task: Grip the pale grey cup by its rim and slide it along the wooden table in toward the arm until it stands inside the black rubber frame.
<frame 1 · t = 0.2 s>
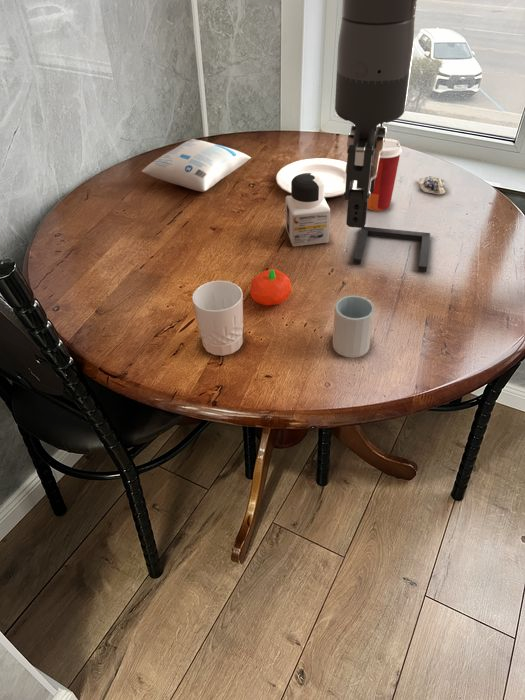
hand: (360, 208, 67), 28 cm above the table, tool pointing down, fingers open, 8 cm apart
container: (306, 236, 115), on the table
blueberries: (433, 188, 128), on the table
pale grey cup: (351, 345, 89), on the table
frame: (391, 252, 109), on the table
white cup: (223, 343, 91), on the table
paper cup: (376, 205, 123), on the table
pouch: (199, 180, 136), on the table
pumpkin: (270, 300, 99), on the table
plate: (318, 184, 132), on the table
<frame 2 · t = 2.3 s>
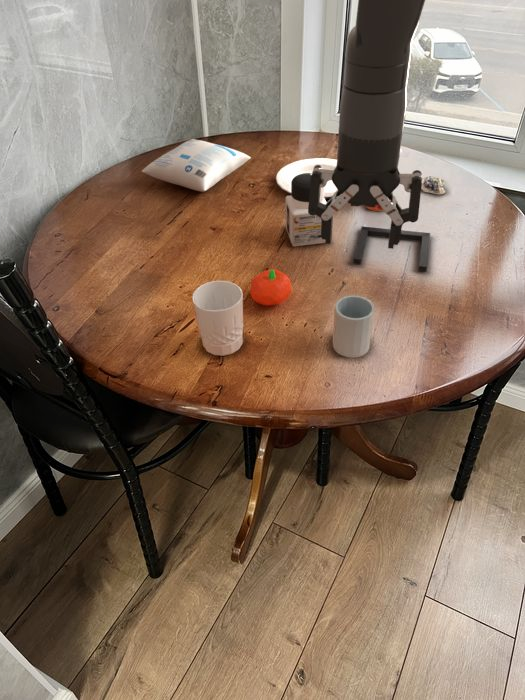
hand: (359, 243, 75), 20 cm above the table, tool pointing down, fingers open, 8 cm apart
nothing on the table moved.
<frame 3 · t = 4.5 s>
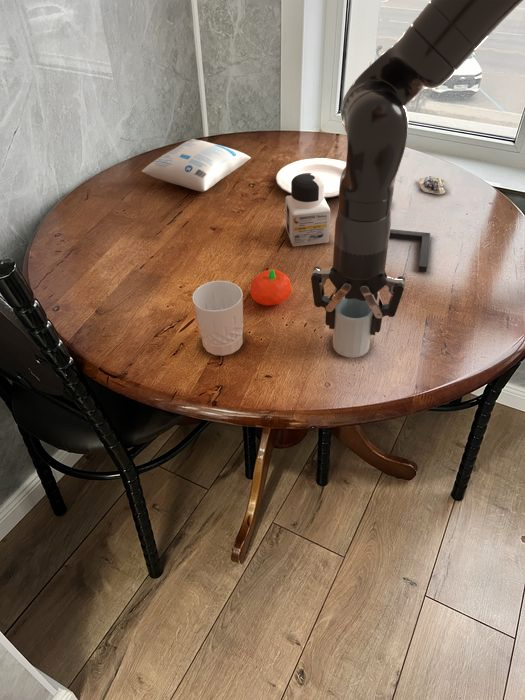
hand: (352, 328, 87), 4 cm above the table, tool pointing down, fingers closed on pale grey cup, 6 cm apart
pale grey cup: (351, 345, 89), on the table, touching gripper
everything else where it was.
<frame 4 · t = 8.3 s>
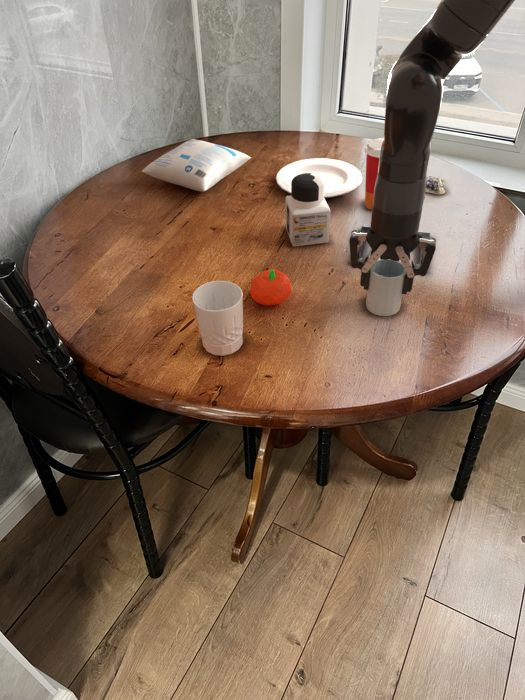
hand: (385, 289, 94), 4 cm above the table, tool pointing down, fingers closed on pale grey cup, 6 cm apart
pale grey cup: (382, 305, 96), on the table, touching gripper
everything else where it was.
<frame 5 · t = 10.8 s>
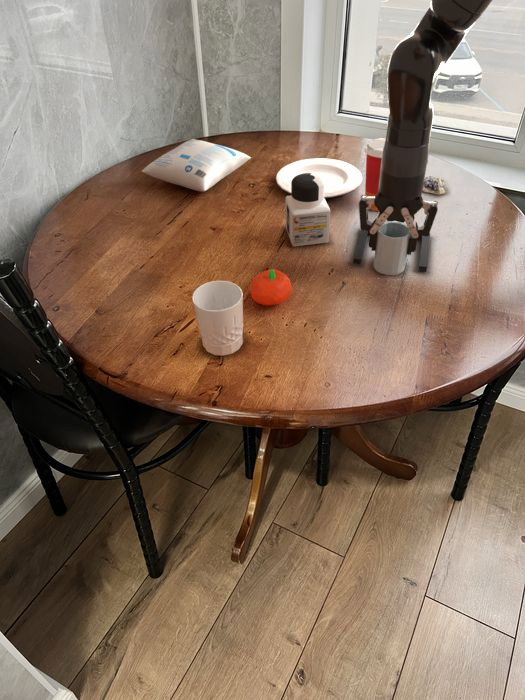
hand: (391, 250, 103), 4 cm above the table, tool pointing down, fingers closed on pale grey cup, 6 cm apart
pale grey cup: (389, 266, 105), on the table, touching gripper
everything else where it was.
when the fingers open (4 cm above the table, at t = 12.4 s): pale grey cup stays where it is, on the table.
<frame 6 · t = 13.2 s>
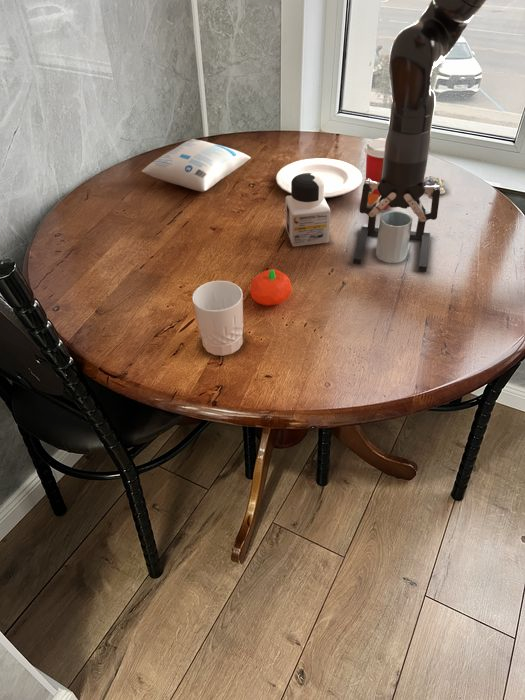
hand: (394, 233, 105), 5 cm above the table, tool pointing down, fingers open, 8 cm apart
pale grey cup: (391, 254, 108), on the table
everything else where it was.
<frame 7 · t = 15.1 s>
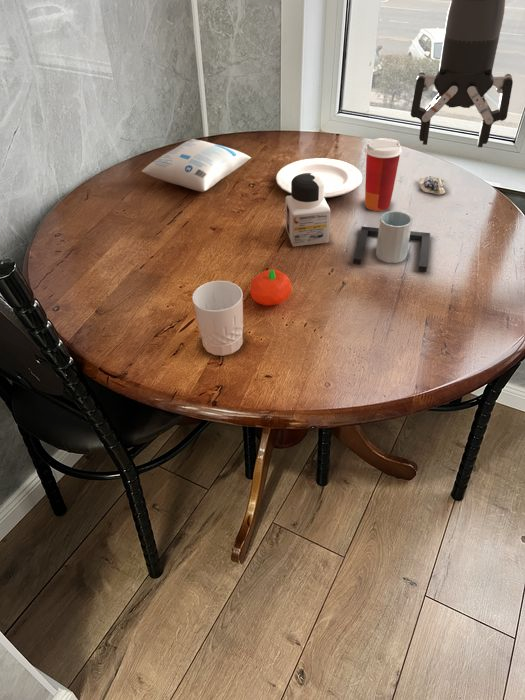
hand: (452, 144, 88), 24 cm above the table, tool pointing down, fingers open, 8 cm apart
nothing on the table moved.
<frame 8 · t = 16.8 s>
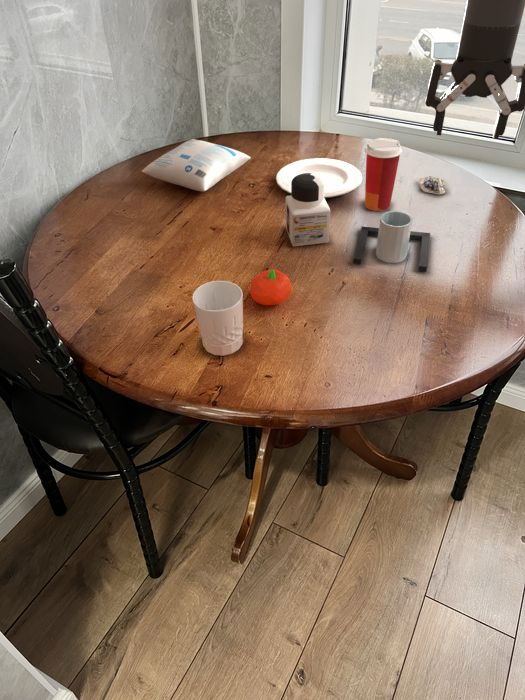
hand: (466, 135, 85), 26 cm above the table, tool pointing down, fingers open, 8 cm apart
nothing on the table moved.
at the end: pale grey cup inside the target area on the frame (0.7 cm from its centre), point 0.0 cm above the frame's base; pale grey cup tilted 0°; pale grey cup moved 28.6 cm from its start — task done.
